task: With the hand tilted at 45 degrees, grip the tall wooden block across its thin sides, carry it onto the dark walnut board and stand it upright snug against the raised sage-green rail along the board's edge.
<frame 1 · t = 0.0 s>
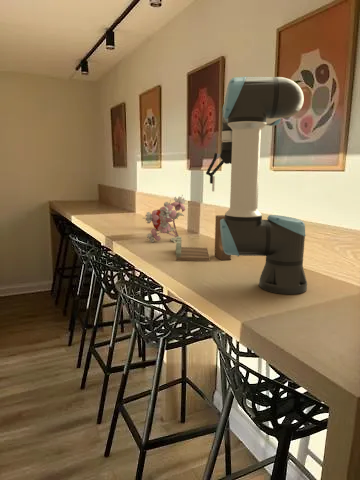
hand: (228, 191, 168), 28 cm above the bar counter, tool pointing down, fingers open, 13 cm apart
wooden block: (222, 258, 164), on the bar counter
red rounded piece: (160, 230, 234), on the bar counter
walnut edge board: (192, 255, 168), on the bar counter
flower: (162, 242, 198), on the bar counter
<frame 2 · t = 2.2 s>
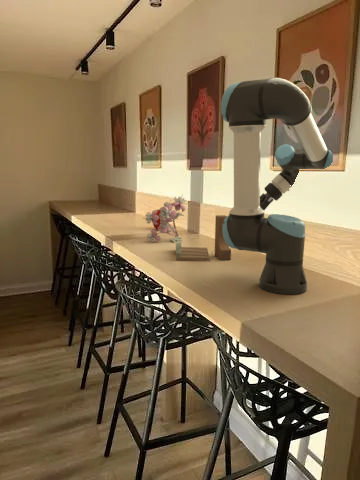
hand: (239, 223, 162), 15 cm above the bar counter, tool tilted 45°, fingers open, 13 cm apart
nothing on the bar counter moved.
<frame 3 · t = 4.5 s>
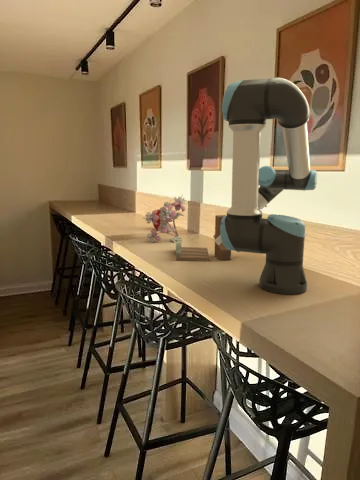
hand: (215, 240, 163), 7 cm above the bar counter, tool tilted 45°, fingers open, 9 cm apart
wooden block: (222, 258, 164), on the bar counter, touching gripper
everything else where it was.
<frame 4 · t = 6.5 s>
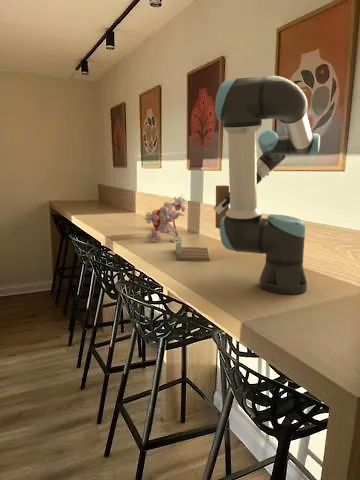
hand: (215, 211, 161), 20 cm above the bar counter, tool tilted 45°, fingers closed on wooden block, 6 cm apart
wooden block: (223, 229, 160), point 13 cm above the bar counter, touching gripper
everything else where it was.
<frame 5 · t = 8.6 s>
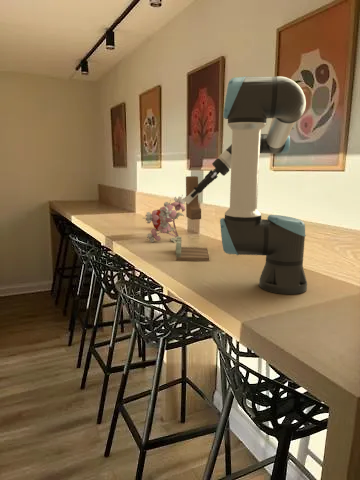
hand: (186, 201, 167), 24 cm above the bar counter, tool tilted 45°, fingers closed on wooden block, 6 cm apart
wooden block: (193, 218, 166), point 16 cm above the bar counter, touching gripper
everything else where it was.
when the fingers open (9 cm above the bar counter, at t = 11.8 s): wooden block stays where it is, resting on walnut edge board.
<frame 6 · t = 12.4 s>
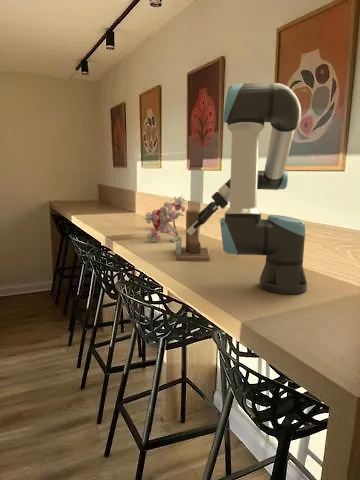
hand: (188, 230, 169), 11 cm above the bar counter, tool tilted 45°, fingers open, 13 cm apart
wooden block: (193, 251, 169), point 1 cm above the bar counter, touching walnut edge board
everything else where it was.
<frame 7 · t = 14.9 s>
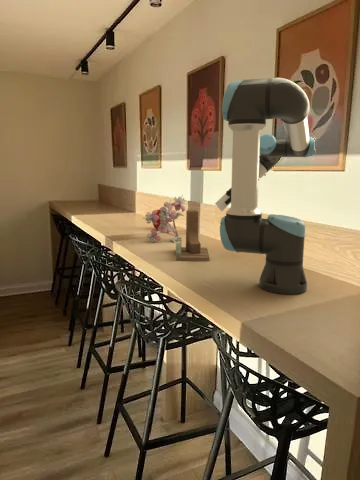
hand: (218, 207, 167), 21 cm above the bar counter, tool tilted 45°, fingers open, 13 cm apart
nothing on the bar counter moved.
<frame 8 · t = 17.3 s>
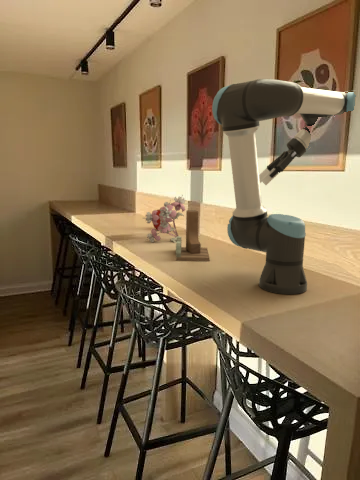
hand: (260, 182, 153), 33 cm above the bar counter, tool tilted 45°, fingers open, 13 cm apart
nothing on the bar counter moved.
at the end: wooden block inside the target area on the walnut edge board (1.8 cm from its centre), point 1.3 cm above the walnut edge board's base; wooden block tilted 0°; the gripper is holding nothing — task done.
